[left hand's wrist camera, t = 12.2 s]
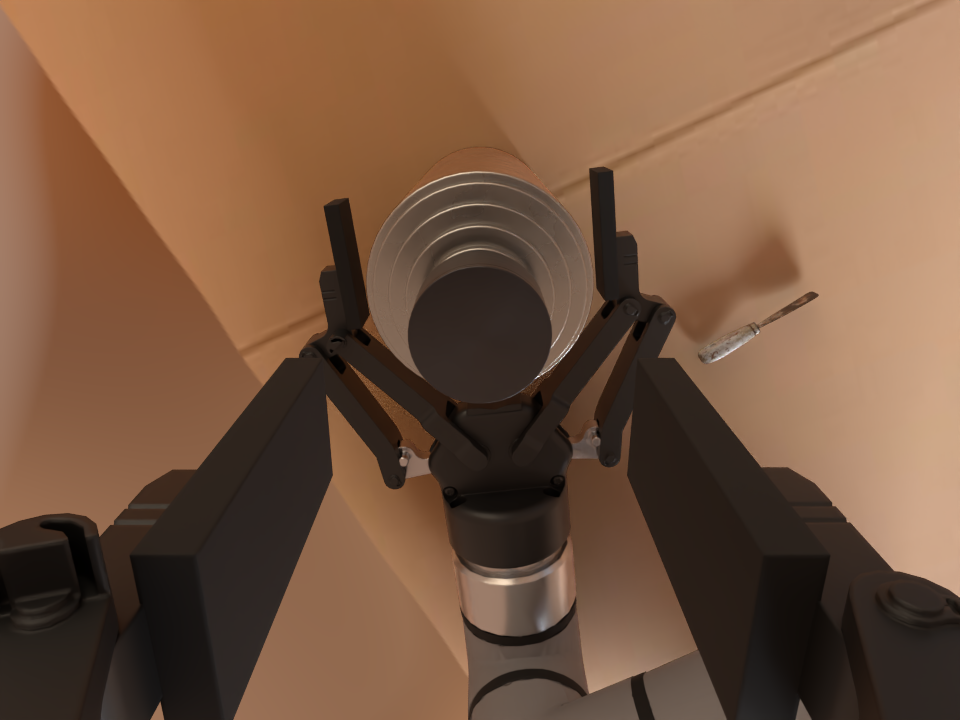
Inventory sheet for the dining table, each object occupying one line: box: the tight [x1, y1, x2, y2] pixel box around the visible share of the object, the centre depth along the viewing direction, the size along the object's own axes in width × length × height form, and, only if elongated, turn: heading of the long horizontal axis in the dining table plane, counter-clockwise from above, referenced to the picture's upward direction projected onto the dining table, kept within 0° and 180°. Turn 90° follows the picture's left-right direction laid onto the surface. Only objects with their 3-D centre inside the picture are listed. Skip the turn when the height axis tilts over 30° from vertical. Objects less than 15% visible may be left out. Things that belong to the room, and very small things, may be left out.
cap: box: [408, 251, 552, 403], centre depth 20 cm, size 4×4×2 cm
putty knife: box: [698, 292, 818, 364], centre depth 43 cm, size 1×8×2 cm, turn 125°
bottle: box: [366, 147, 594, 379], centre depth 31 cm, size 8×8×23 cm
